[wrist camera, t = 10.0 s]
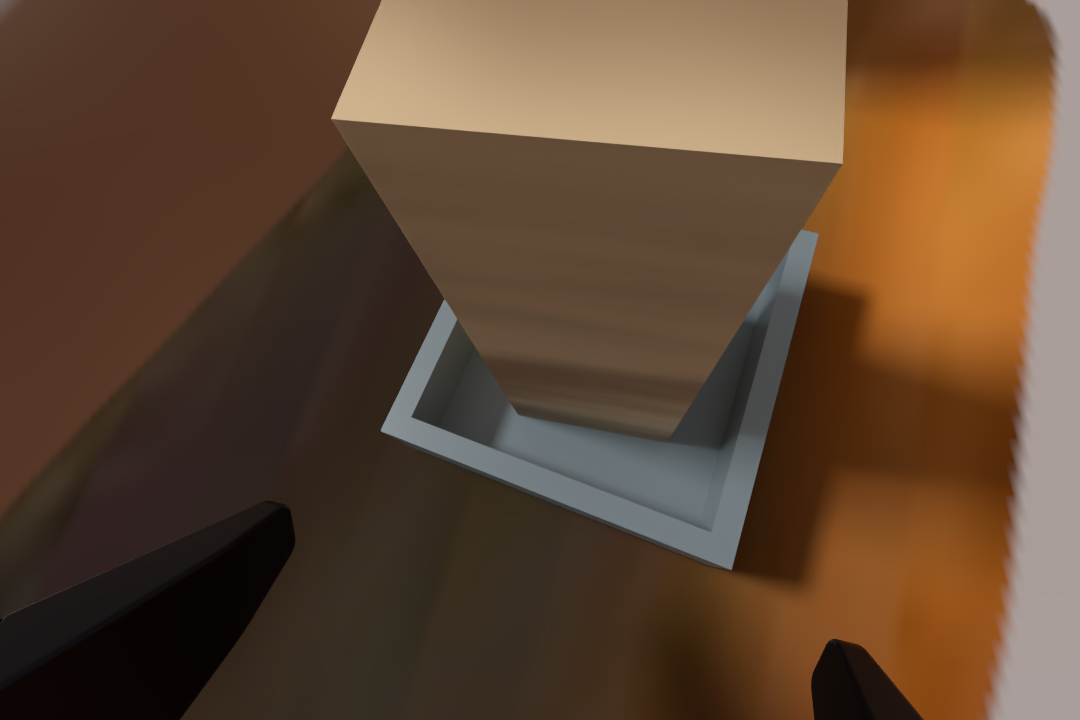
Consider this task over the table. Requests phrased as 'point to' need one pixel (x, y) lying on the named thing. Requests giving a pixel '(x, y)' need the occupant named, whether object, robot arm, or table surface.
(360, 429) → the table surface
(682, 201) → the oak handle block
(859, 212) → the table surface
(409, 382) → the tray
